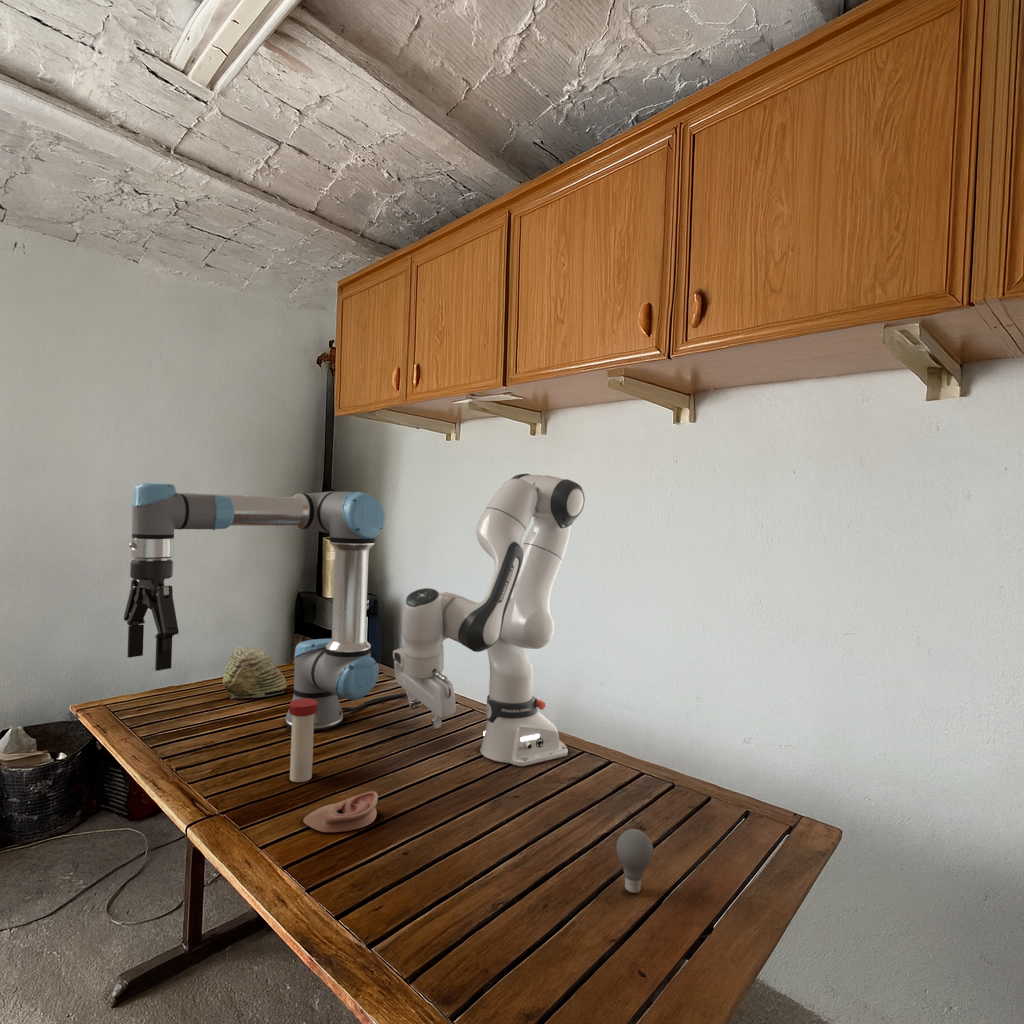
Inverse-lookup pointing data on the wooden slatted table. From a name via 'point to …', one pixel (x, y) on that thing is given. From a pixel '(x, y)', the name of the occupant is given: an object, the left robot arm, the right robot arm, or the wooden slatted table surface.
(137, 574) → the left robot arm
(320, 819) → the anatomical model
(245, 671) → the fossil
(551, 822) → the wooden slatted table surface
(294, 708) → the lid
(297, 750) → the white cylindrical bottle
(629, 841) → the light bulb
